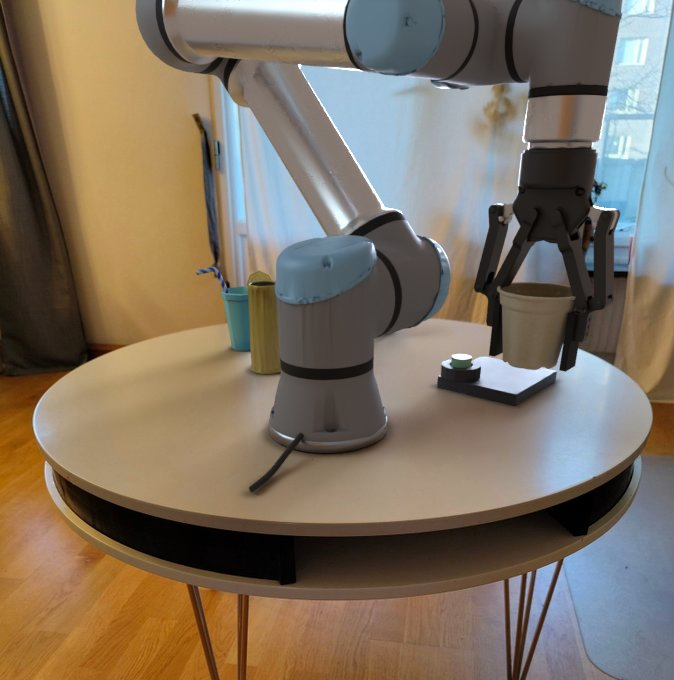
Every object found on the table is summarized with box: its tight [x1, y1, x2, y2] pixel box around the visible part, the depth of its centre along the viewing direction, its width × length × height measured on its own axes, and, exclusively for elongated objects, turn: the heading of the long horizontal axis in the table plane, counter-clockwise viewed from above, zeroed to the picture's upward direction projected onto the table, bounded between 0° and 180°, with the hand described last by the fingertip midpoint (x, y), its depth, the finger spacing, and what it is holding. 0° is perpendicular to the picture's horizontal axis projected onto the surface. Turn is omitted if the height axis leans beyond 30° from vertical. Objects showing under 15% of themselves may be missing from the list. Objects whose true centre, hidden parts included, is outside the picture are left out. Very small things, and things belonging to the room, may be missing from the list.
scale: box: [436, 355, 558, 407], centre depth 95 cm, size 14×13×4 cm
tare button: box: [451, 353, 473, 368], centre depth 93 cm, size 3×3×2 cm
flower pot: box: [497, 281, 576, 370], centre depth 71 cm, size 9×9×9 cm
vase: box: [248, 280, 281, 375], centre depth 101 cm, size 6×6×14 cm
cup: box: [195, 266, 274, 352], centre depth 113 cm, size 14×8×15 cm, turn 95°
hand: (530, 360), depth 72 cm, fingers closed on flower pot, 8 cm apart
